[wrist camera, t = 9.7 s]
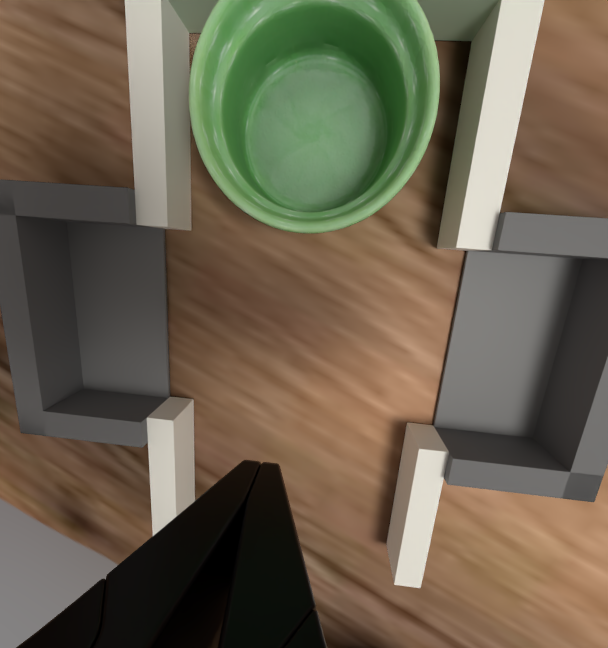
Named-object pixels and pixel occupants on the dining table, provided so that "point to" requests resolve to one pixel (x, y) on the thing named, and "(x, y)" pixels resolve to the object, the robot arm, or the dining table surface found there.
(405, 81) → the ramekin
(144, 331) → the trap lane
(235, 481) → the robot arm
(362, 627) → the dining table surface
